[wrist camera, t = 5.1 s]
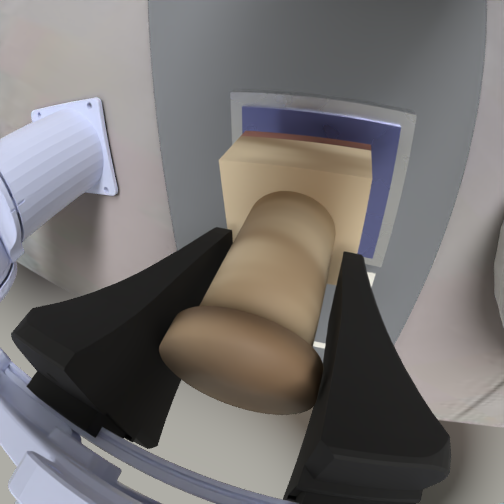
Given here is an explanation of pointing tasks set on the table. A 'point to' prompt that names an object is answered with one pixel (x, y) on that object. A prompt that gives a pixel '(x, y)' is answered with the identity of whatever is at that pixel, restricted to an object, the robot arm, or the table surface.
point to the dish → (499, 274)
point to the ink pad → (341, 128)
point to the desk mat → (326, 83)
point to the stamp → (273, 271)
